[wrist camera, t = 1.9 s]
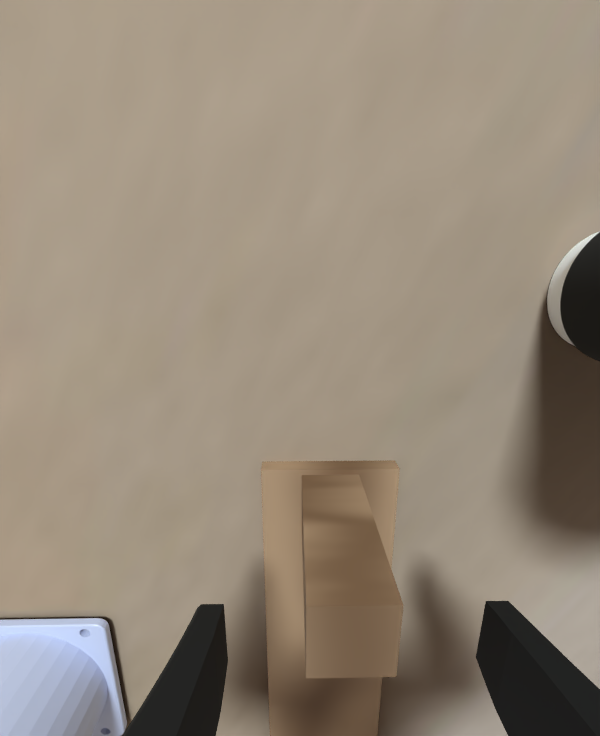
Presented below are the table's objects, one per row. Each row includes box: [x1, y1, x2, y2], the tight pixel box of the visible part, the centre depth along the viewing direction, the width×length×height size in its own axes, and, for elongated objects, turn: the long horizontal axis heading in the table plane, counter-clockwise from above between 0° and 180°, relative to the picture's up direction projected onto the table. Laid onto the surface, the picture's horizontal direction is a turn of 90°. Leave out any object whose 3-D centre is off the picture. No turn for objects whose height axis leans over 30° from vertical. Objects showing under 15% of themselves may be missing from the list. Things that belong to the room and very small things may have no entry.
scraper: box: [261, 461, 403, 736], centre depth 14 cm, size 6×22×7 cm, turn 0°
